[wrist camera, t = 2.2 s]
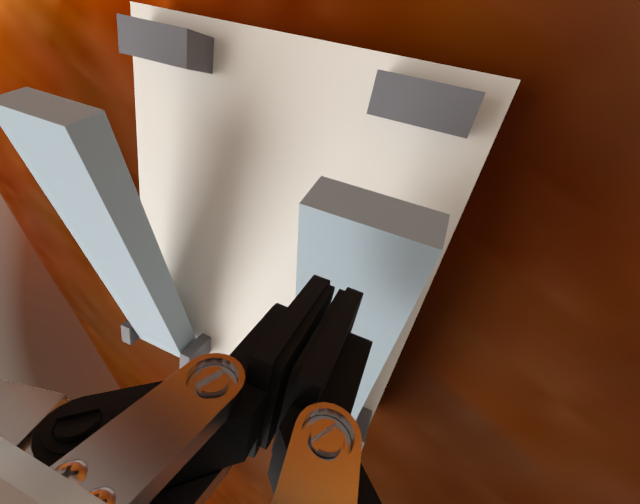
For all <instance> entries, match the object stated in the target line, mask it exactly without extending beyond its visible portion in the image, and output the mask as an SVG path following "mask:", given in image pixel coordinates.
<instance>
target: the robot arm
mask: <svg viewBox="0 0 640 504" xmlns="http://www.w3.org/2000/svg"><path fill="white" fill-rule="evenodd" d="M334 290H335V287H334V286H331V285H330V280H328V279H325V278H323V277H320V276H317V275H313V276H312V278H311V279H310V280H309V281H308V283H307V284H306V285H305V286H304V288H303V289H302V290H301V291H300V293H299V294H298V295H297V296H296V298H295V299H294V300H293V301H292V303H291V304H290V305H289V306H288V307H286V306H284V305H281V304H279V303H276V304H275V305H273V306H272V308H271V309H270V310H269V311H268V312H267V313H266V314H265V315H264V317H263V318H262V319H261V320H260V321H259V322H258V323H257V324H256V326H255V327H254V328H253V329H252V330H251V331H250V332H249V334H248V335H247V336H246V337H245V338H244V339H243V340H242V341H241V343H240V344H239V345H238V346H237V347H236V348H235V349H234V350H233V352H232V353H231V354H230V355H227V354H221V353H208V354H205V355H201V356H198V357H196V358H195V359H193V360H191V361H190V362H188V363H187V364H186V365H184V366H183V367H182V368H180V369H179V370H178V371H176V372H175V373H174V374H172V375H171V376H170V377H168V378H167V379H166V380H164V381H160V382H155V383H150V384H145V385H140V386H135V387H129V388H124V389H119V390H114V391H110V392H105V393H100V394H94V395H89V396H84V397H81V398H77V399H74V400H67V397H66V395H65V394H61V393H57V392H52V391H48V390H43V389H39V388H35V387H31V386H27V385H22V384H18V383H14V382H9V381H5V380H1V379H0V504H204V503H205V502H206V500H207V499H208V498H209V497H210V495H211V494H212V493H213V492H214V490H215V489H216V488H217V487H218V485H219V484H220V483H221V481H222V480H223V479H224V478H225V476H226V475H227V474H228V472H229V470H230V468H231V467H232V465H234V464H237V463H240V462H243V461H245V460H246V458H247V456H250V457H252V458H254V457H255V455H256V453H257V452H258V450H259V448H260V447H262V448H264V449H267V448H268V446H269V444H270V442H271V440H272V439H273V437H274V435H275V433H276V435H275V439H274V443H273V447H272V453H273V454H272V458H271V462H270V467H269V471H268V476H269V479H270V483H271V486H272V490H273V493H274V497H273V501H272V504H382V503H381V501H380V499H379V497H378V495H377V493H376V491H375V489H374V488H373V486H372V484H371V482H370V480H369V478H368V476H367V474H366V472H365V470H364V468H363V466H362V464H361V449H362V438H361V432H360V429H359V427H358V424H357V422H356V421H355V420H354V418H353V417H352V415H351V412H352V409H353V406H354V402H355V399H356V396H357V392H358V389H359V386H360V383H361V379H362V376H363V373H364V369H365V366H366V363H367V360H368V356H369V353H370V350H371V347H372V343H373V341H370V340H368V339H365V338H363V337H360V336H358V335H355V334H353V333H351V331H352V328H353V325H354V322H355V319H356V316H357V313H358V310H359V307H360V303H361V300H362V297H363V294H364V293H363V292H360V291H357V290H355V289H352V288H349V287H347V288H346V290H342V289H339V290H338V292H337V294H336V295H335V297H334V299H333V301H332V298H333V294H334ZM331 301H332V302H331Z"/></svg>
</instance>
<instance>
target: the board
mask: <svg viewBox="0 0 640 504" xmlns="http://www.w3.org/2000/svg"><path fill="white" fill-rule="evenodd" d="M130 6H131V16H127V15H122V14H118V13H117V27H118V42H119V53H123V54H127V55H131V56H133V66H134V87H135V107H136V127H137V147H138V167H139V187H140V201H141V203H142V205H143V208H144V210H145V213H146V215H147V218H148V220H149V223H150V225H151V228H152V230H153V233H154V235H155V238H156V240H157V243H158V245H159V248H160V250H161V253H162V255H163V258H164V260H165V263H166V265H167V267H168V270H169V272H170V275H171V277H172V280H173V282H174V285H175V287H176V290H177V292H178V295H179V297H180V300H181V302H182V305H183V307H184V310H185V312H186V315H187V317H188V320H189V322H190V324H191V327H192V329H193V332H194V334H195V337H196V339H195V340H194V341H193V342H192V343H191V344H190V345H188V346H187V347H186V348H185V349H184V350H183V351H182V352H181V353H180V368H182V367H183V366H184V365H186V364H187V363H188V362H190V361H191V360H193V359H195V358H196V357H198V356H201V355H205V354H208V353H221V354H227V355H230V354H231V353H232V352H233V350H234V349H235V348H236V347H237V346H238V345H239V344H240V343H241V341H242V340H243V339H244V338H245V337H246V336H247V335H248V334H249V332H250V331H251V330H252V329H253V328H254V327H255V326H256V324H257V323H258V322H259V321H260V320H261V319H262V318H263V317H264V315H265V314H266V313H267V312H268V311H269V310H270V309H271V308H272V306H273V305H275V304H276V303H279V304H281V305H284V306H286V307H288V306H289V305H290V304H291V303H292V301H293V300H294V299H295V296H296V271H297V246H298V222H299V203H300V202H301V200H302V199H303V198H304V197H305V195H306V194H307V193H308V192H309V190H310V189H311V188H312V187H313V185H314V184H315V183H316V182H317V180H318V179H319V178H320V177H321V176H324V177H327V178H331V179H334V180H337V181H341V182H344V183H347V184H350V185H354V186H357V187H360V188H364V189H367V190H370V191H374V192H377V193H380V194H384V195H387V196H390V197H394V198H397V199H400V200H403V201H407V202H410V203H413V204H417V205H420V206H423V207H427V208H430V209H433V210H437V211H440V212H443V213H447V214H450V217H449V222H448V227H447V232H446V237H445V242H444V247H443V251H442V253H441V255H440V257H439V259H438V261H437V263H436V264H435V266H434V268H433V270H432V272H431V274H430V276H429V278H428V280H427V282H426V284H425V286H424V288H423V290H422V292H421V294H420V296H419V298H418V300H417V302H416V304H415V305H414V307H413V309H412V311H411V313H410V315H409V317H408V319H407V321H406V323H405V325H404V327H403V329H402V331H401V333H400V335H399V337H398V339H397V341H396V343H395V345H394V346H393V348H392V350H391V352H390V354H389V356H388V358H387V360H386V362H385V364H384V366H383V368H382V370H381V372H380V374H379V376H378V378H377V380H376V382H375V384H374V385H373V387H372V389H371V391H370V393H369V395H368V397H367V399H366V401H365V403H364V405H363V407H362V409H361V411H360V413H359V415H358V417H357V419H356V422H357V424H358V427H359V429H360V432H361V438H362V448H363V446H364V443H365V440H366V436H367V431H368V427H369V424H370V422H371V419H372V417H373V415H374V412H375V410H376V408H377V406H378V403H379V401H380V399H381V397H382V394H383V392H384V390H385V388H386V385H387V383H388V381H389V378H390V376H391V374H392V372H393V369H394V367H395V365H396V363H397V360H398V358H399V356H400V353H401V351H402V349H403V347H404V344H405V342H406V340H407V338H408V335H409V333H410V331H411V328H412V326H413V324H414V322H415V319H416V317H417V315H418V313H419V310H420V308H421V306H422V303H423V301H424V299H425V297H426V294H427V292H428V290H429V288H430V285H431V283H432V281H433V278H434V276H435V274H436V272H437V269H438V267H439V265H440V263H441V260H442V258H443V256H444V254H445V251H446V249H447V247H448V244H449V242H450V240H451V238H452V235H453V233H454V231H455V229H456V226H457V224H458V222H459V219H460V217H461V215H462V213H463V210H464V208H465V206H466V204H467V201H468V199H469V197H470V194H471V192H472V190H473V188H474V185H475V183H476V181H477V179H478V176H479V174H480V172H481V169H482V167H483V165H484V163H485V160H486V158H487V156H488V154H489V151H490V149H491V147H492V144H493V142H494V140H495V138H496V135H497V133H498V131H499V129H500V126H501V124H502V122H503V120H504V117H505V115H506V113H507V110H508V108H509V106H510V104H511V101H512V99H513V97H514V95H515V92H516V90H517V88H518V85H519V83H520V81H521V80H518V79H513V78H508V77H503V76H498V75H493V74H489V73H484V72H479V71H474V70H469V69H464V68H459V67H454V66H449V65H444V64H439V63H434V62H429V61H424V60H419V59H414V58H409V57H404V56H399V55H394V54H389V53H384V52H379V51H374V50H369V49H364V48H359V47H354V46H349V45H344V44H340V43H335V42H330V41H325V40H320V39H315V38H310V37H305V36H300V35H295V34H290V33H285V32H280V31H275V30H270V29H265V28H260V27H255V26H250V25H245V24H240V23H235V22H230V21H225V20H220V19H215V18H210V17H205V16H200V15H195V14H191V13H186V12H181V11H176V10H171V9H166V8H161V7H156V6H151V5H146V4H141V3H136V2H131V1H130ZM121 334H122V341H124V342H126V343H128V344H130V345H131V344H133V343H134V342H135V341H137V340H138V339H139V338H140V337H139V336H138V334H137V333H136V331H135V330H134V328H133V327H132V325H131V324H130V322H129V321H128V320H127V321H125V322H124V323H122V324H121ZM361 450H362V449H361Z"/></svg>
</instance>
